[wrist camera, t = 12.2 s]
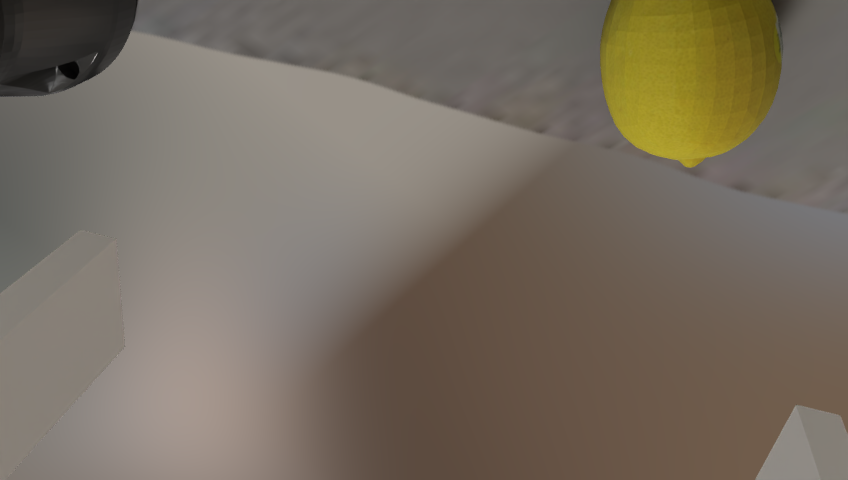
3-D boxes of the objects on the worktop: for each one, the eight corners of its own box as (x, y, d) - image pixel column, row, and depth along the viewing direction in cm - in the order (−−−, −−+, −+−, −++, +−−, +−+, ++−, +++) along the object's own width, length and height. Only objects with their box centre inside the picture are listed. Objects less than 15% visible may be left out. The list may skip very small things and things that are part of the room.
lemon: (752, 136, 39) (781, 202, 32) (598, 136, 41) (595, 199, 34) (782, -90, 34) (824, -68, 27) (604, -79, 36) (602, -56, 29)
